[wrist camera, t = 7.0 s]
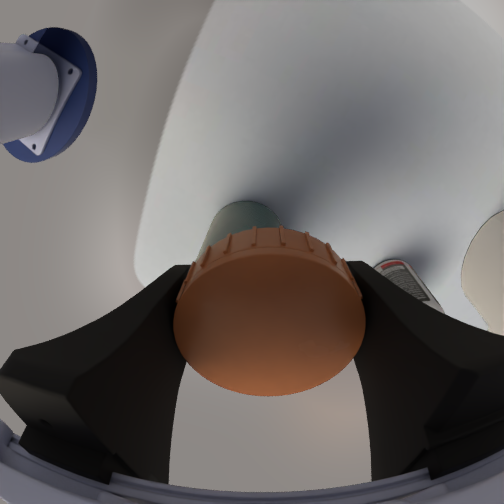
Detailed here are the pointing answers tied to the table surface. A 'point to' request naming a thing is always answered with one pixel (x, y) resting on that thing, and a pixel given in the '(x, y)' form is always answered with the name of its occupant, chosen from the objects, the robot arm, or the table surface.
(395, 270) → the pill bottle
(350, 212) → the table surface
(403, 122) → the table surface
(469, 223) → the table surface
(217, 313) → the lid
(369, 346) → the robot arm
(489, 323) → the mug
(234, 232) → the jar
